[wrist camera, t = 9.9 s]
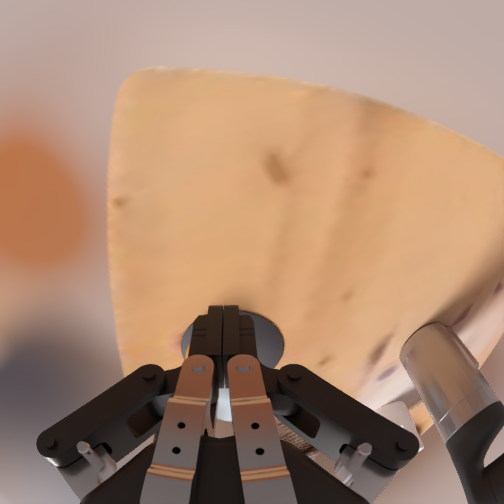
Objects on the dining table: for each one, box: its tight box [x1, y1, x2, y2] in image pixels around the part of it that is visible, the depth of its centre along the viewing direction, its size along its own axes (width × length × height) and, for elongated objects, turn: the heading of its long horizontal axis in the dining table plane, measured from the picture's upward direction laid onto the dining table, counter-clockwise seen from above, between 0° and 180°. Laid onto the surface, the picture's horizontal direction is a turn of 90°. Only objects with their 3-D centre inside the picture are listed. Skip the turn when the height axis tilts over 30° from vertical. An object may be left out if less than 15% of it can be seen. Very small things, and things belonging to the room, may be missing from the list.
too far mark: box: [217, 383, 232, 421], centre depth 40 cm, size 11×11×1 cm
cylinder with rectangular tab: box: [375, 401, 424, 452], centre depth 41 cm, size 9×9×12 cm
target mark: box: [181, 311, 283, 383], centre depth 35 cm, size 13×13×1 cm
